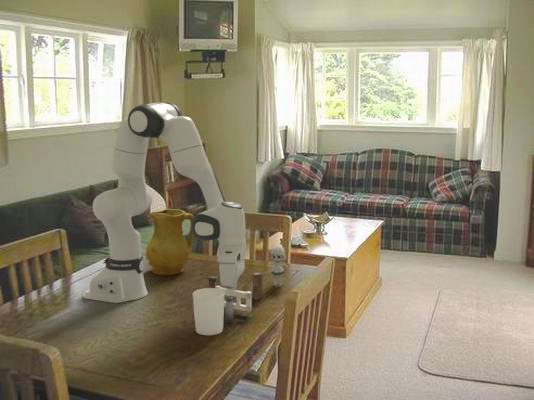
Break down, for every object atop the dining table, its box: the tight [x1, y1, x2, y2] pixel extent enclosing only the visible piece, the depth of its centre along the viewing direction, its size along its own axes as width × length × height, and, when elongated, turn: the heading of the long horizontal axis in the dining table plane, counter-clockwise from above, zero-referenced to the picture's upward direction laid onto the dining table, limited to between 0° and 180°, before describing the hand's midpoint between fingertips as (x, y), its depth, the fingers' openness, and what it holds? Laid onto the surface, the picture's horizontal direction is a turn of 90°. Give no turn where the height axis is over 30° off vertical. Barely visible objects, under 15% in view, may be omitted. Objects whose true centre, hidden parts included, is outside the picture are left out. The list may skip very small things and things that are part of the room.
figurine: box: [265, 245, 292, 287], centre depth 245 cm, size 10×6×15 cm, turn 68°
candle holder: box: [192, 287, 226, 336], centre depth 199 cm, size 10×10×12 cm
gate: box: [215, 285, 253, 313], centre depth 215 cm, size 14×1×6 cm, turn 58°
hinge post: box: [207, 276, 218, 288], centre depth 219 cm, size 3×3×11 cm
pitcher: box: [145, 208, 195, 276], centre depth 262 cm, size 17×19×25 cm
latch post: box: [224, 296, 235, 324], centre depth 207 cm, size 3×3×8 cm
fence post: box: [252, 271, 263, 301], centre depth 229 cm, size 2×2×9 cm
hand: (233, 291), depth 217 cm, fingers closed
